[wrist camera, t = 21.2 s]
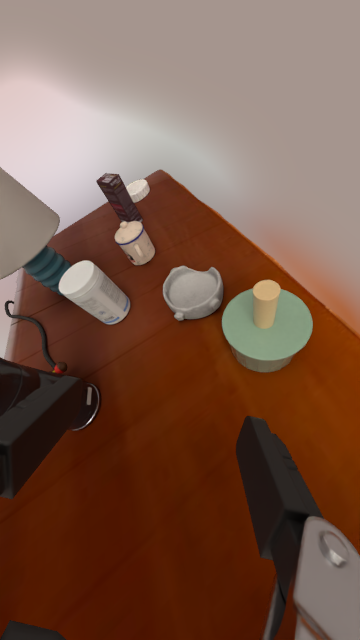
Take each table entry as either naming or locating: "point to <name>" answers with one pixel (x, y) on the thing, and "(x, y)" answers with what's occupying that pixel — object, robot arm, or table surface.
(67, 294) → the supplement tub
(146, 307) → the table surface
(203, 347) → the table surface
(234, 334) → the lid
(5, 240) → the lamp
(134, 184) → the mooncake
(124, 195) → the supplement box
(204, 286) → the dish
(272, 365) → the canister
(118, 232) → the teacup with lid
